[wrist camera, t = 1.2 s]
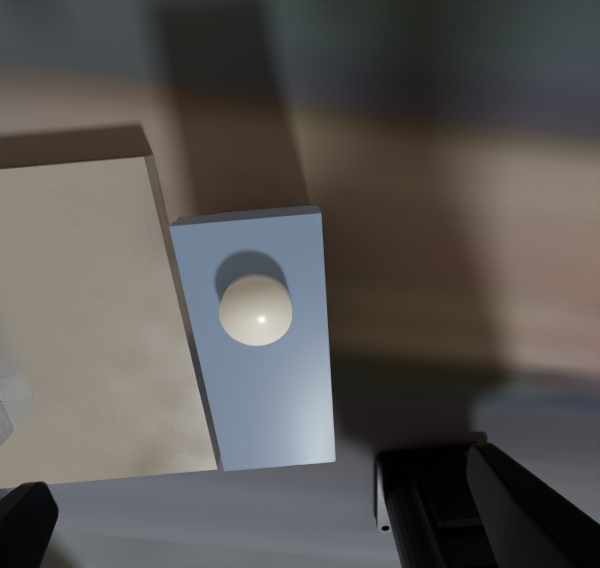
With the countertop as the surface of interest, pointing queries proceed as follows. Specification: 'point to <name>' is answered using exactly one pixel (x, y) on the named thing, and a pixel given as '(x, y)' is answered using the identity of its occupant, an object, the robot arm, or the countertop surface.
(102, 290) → the chassis plate
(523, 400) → the countertop surface
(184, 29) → the countertop surface
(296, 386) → the block
